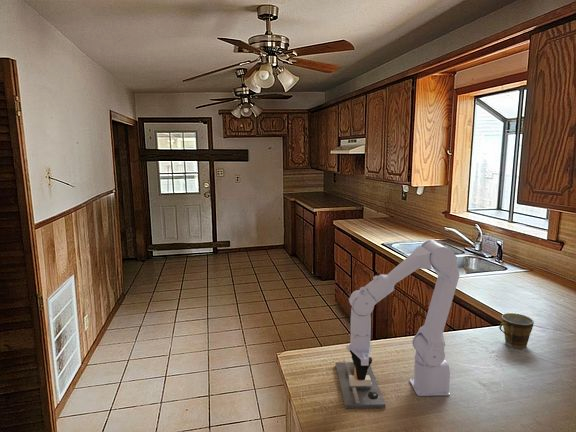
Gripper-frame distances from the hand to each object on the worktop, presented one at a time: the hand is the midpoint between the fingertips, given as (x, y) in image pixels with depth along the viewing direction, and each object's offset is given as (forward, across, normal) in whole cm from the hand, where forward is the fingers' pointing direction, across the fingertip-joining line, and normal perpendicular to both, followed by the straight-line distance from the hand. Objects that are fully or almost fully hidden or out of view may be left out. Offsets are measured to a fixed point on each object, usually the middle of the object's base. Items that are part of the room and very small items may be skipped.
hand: (359, 375), depth 114 cm
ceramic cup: (+5, -26, +60) cm, 65 cm away
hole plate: (+5, -2, 0) cm, 5 cm away
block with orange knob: (+3, 0, 0) cm, 3 cm away
